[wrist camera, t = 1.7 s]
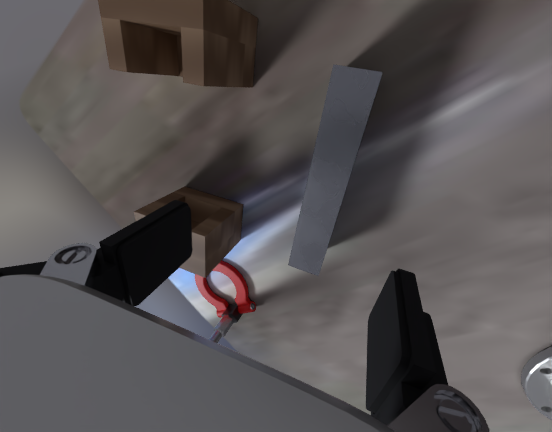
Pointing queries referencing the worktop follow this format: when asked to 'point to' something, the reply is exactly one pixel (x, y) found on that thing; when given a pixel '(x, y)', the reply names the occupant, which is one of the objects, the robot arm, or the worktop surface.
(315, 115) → the worktop surface
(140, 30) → the posts
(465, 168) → the worktop surface
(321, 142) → the rail
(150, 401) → the robot arm
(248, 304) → the tow hook
